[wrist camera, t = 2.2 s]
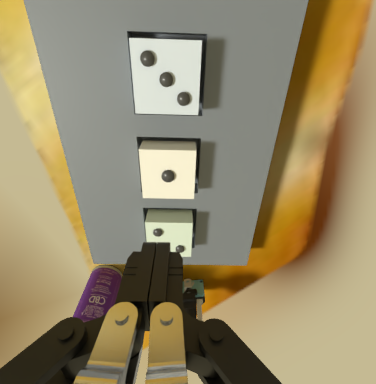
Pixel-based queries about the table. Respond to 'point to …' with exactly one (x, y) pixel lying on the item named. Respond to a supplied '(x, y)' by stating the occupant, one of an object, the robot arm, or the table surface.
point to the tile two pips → (171, 229)
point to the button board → (168, 123)
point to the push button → (193, 297)
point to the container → (99, 293)
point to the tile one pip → (168, 169)
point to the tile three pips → (166, 75)
